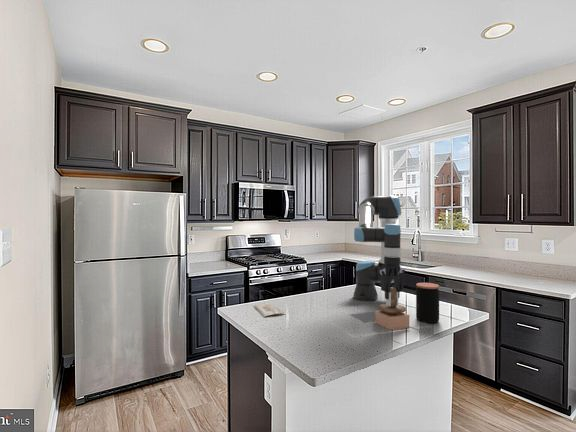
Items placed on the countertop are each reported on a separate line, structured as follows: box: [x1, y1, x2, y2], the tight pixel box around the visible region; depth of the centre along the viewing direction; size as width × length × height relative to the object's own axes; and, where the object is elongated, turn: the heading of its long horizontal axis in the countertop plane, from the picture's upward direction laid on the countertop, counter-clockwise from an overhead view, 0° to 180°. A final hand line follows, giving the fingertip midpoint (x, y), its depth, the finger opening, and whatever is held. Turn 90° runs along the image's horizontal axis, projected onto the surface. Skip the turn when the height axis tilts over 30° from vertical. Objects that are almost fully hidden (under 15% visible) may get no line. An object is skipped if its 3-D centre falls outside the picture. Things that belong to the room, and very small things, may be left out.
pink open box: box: [375, 309, 410, 330], centre depth 160 cm, size 11×11×6 cm
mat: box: [349, 311, 376, 324], centre depth 172 cm, size 14×14×1 cm
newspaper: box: [253, 302, 286, 318], centre depth 185 cm, size 23×12×2 cm, turn 20°
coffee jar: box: [415, 282, 440, 325], centre depth 167 cm, size 11×11×18 cm
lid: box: [378, 286, 407, 313], centre depth 160 cm, size 12×12×10 cm
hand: (392, 305), depth 160 cm, fingers closed on lid, 4 cm apart
